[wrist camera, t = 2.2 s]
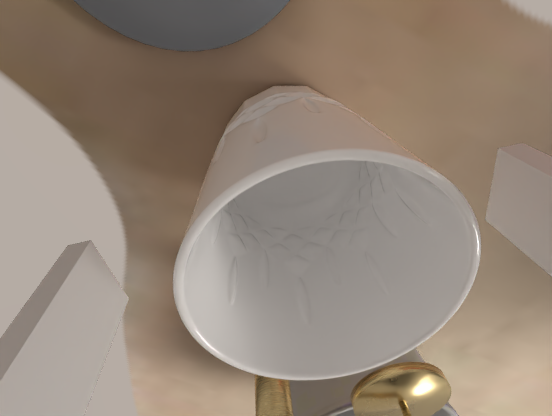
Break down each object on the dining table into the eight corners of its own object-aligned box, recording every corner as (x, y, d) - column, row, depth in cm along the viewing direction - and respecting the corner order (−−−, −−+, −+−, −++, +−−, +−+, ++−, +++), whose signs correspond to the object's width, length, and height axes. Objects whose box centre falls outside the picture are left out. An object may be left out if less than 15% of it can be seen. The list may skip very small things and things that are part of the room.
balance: (373, 226, 20) (580, 575, 8) (375, 273, 22) (540, 606, 10) (145, 274, 20) (-8, 672, 8) (168, 315, 22) (75, 681, 10)
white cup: (366, 198, 19) (466, 353, 10) (235, 227, 19) (226, 401, 11) (355, 52, 15) (507, 108, 6) (188, 92, 15) (111, 200, 6)
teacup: (243, 342, 25) (242, 468, 18) (362, 267, 22) (415, 385, 15) (343, 406, 31) (370, 518, 24) (446, 355, 28) (512, 467, 21)
